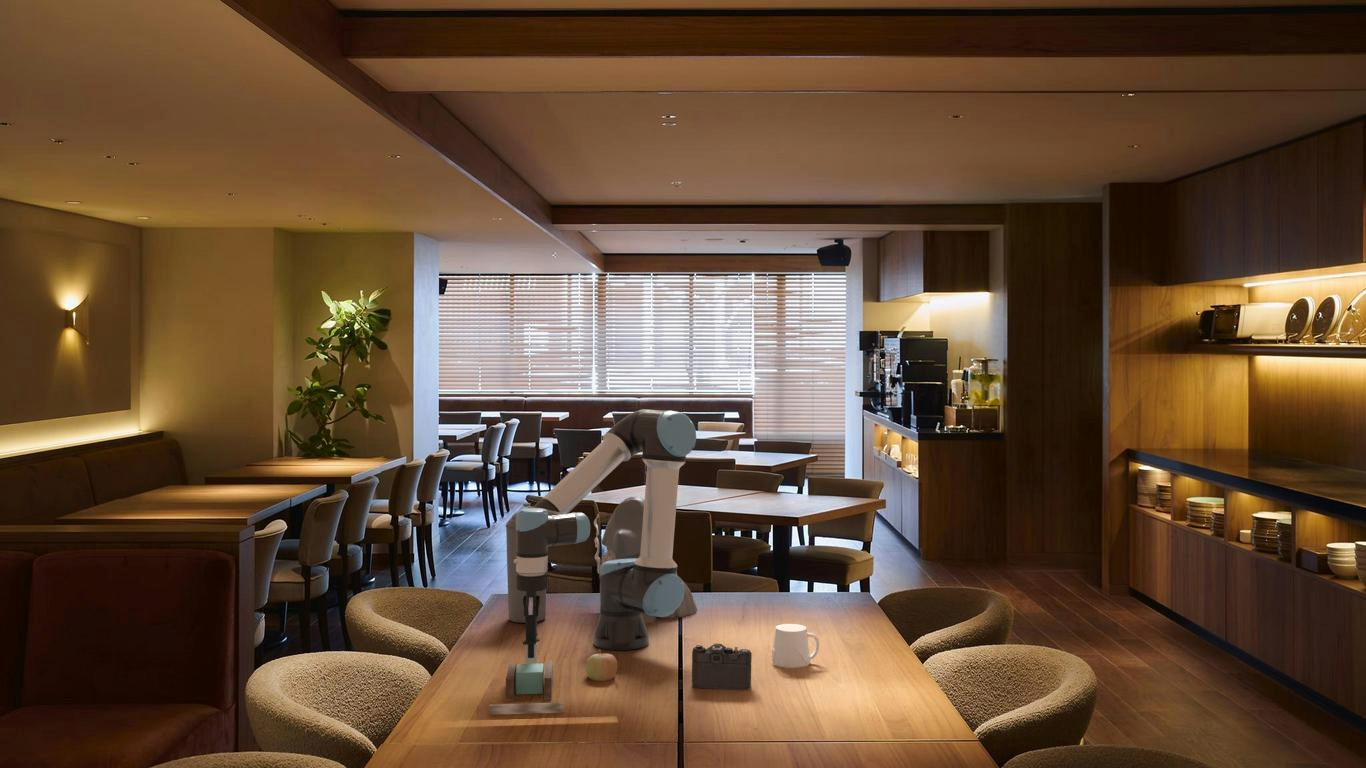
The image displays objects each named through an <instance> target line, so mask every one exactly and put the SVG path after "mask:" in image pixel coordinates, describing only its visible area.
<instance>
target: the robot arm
mask: <svg viewBox="0 0 1366 768" xmlns="http://www.w3.org/2000/svg"><path fill="white" fill-rule="evenodd" d="M694 424H695V423H694V422H693V421H692V420H691V419H690V417H689V416H688V415H686V414H685V413H683V412H679V411H675V410H671V409H670V410H661V409H645V408H643V409H639V410H636V411H634V412H631V413H630V414H628V415H626V416H625V417H624V418H622V419H621V420H620V421H618V422H617V423H615V425H613V426H612V427H610V429H609V430H607V432H605V434H603V436H602V441H601V442H600V443H599V444H598V445H597V446H596V447H595V448H594V449H593V450H591V452H590V453H589V454H588V455H586V457H584V459H583V460H582V461H580V462H579V463H578V464H577V465H575V467H574V468H573V469H572V470H570V471H569V473H567V475H566V476H564V477H563V478H562V479H561V480H560V481H559V482H558V483H557V484H556V485H555V486H554V487H553V488H552V489H551V490H550V491H548V492H547V493H546V494H545V495H544V496H543V497H542V498H541V499H540V500H538V502H537V503H536V504H535V505H533V506H532V505H530V506H528V507H525V506H523V507H521V508H520V510H518V511H517V512H518V513H517V512H516V513H517V516H516V555H517V556H516V558H517V559H515V560H514V563H517V565H516V571H517V572H518V574H517V575H516V589H517V590H519V591H525V592H527V593H526V596H524V598H523V605H524V616H525V617H526V623H525V640H524V641H522V645H525V646H524V647H525V648H524V649H525V652H524V653H525V654H524V655H525V656H524V657H525V660H524V662H525V663H524V664H538V662H537V661H538V657H537V656H538V642H540V640H541V639H540V637H539V638H538V633H537V632H538V630H537V629H538V622H537V616H538V613H539V603H540V596H537V591H543V590H545V589H546V590H547V588H548V574H546V573H545V572H547V573H548V566H549V565H548V563H549V560H548V559H549V556H548V555H549V554H548V552H549V550H548V549H549V547H555V546H564V545H565V546H566V545H572V544H573V545H576V544H579V543H583V542H586V541H587V540H588V538H589V537H590V533H591V522H590V519H589V517H588V516H587V515H586V514H585V513H583V512H571V511H572V510H573V509H574V508H575V507H576V506H578V504H579V503H580V502H581V501H582V500H583V499H584V498H586V497H587V496H588V494H590V493H591V492H592V491H593V490H594V489H595V488H596V487H597V486H598V485H599V484H601V482H602V481H603V480H604V479H606V477H608V475H609V474H610V473H612V472H613V470H615V469H616V468H617V467H619V465H620V464H621V463H622V462H628V461H629V460H630V459H632V457H634V456H635V455H637V454H639V453H642V455H641V456H642V457H641V460H642V461H643V463H644V464H645V465H646V477H645V489H644V500H645V501H644V513H643V526H642V539H641V551H640V557H639V558H638V559H636V558H632V559H618V560H611V561H606V562H604V563H601V564H600V566H601V568H600V574H599V575H598V577H599V618H598V622H597V624H596V627H595V630H594V634H593V645H594V647H597V648H599V649H604V650H608V651H631V650H637V649H641V648H645V647H646V646H648V645H649V642H650V640H649V636H650V635H649V632H648V629H647V625H646V624H645V622H644V619H643V615H642V613H645V614H647V615H650V616H657V618H660V617H666V616H668V615H671V614H672V613H673V612H675V610H676V609H677V608H678V607H679V606H680V604H681V602H682V600H683V597H684V584H683V582H682V580H683V579H682V578H681V577H680V576H678V564H677V563H676V561H675V560H674V559H673V553H674V541H675V540H674V539H675V528H676V515H677V514H676V512H677V502H678V489H679V474H680V468H681V467H683V466H684V465H685V464H686V461H687V460H686V459H687V455H689V454H690V453H691V452H692V450H693V449H695V446H696V442H697V431H696V427H695V425H694ZM570 512H571V513H570ZM681 579H682V580H681Z"/></svg>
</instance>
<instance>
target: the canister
mask: <svg viewBox="0 0 1366 768" xmlns="http://www.w3.org/2000/svg"><path fill="white" fill-rule="evenodd" d="M531 504H532V503H530V502H524V503H522V506H523V507H528V506H532V505H531ZM517 513H518V511H517V512H515V513H513V515H512V516H511V518H509V519H508V521H507V522H506V524H505V529H506V532H505V534H506V536H505V537H506V538H505V539H506V571H507V573H506V574H507V575H506V576H507V603H508V605H507V608H508V620H509V621H511V622H513V623H518V624H526V617H525V616H524V605H523V598H524V596H526V593H527V592H525V591H519V590H517V589H516V575H517V574H518V572H517V571H516V565H517V563H514V560H515V559H517V558H516V556H517V555H516V516H517ZM545 573H546V574H547V573H548V571H547V572H545ZM547 575H548V574H547ZM537 596H540V603H539V613H538V616H537V623H538V622H541V621H544V620H545V619H546V613H547V611H546V609H547V607H546V606H547V588H546V589H545V590H543V591H537Z"/></svg>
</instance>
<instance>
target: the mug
mask: <svg viewBox="0 0 1366 768" xmlns="http://www.w3.org/2000/svg"><path fill="white" fill-rule="evenodd" d="M808 637H810V638H813V639H814V641H815V646H814V650H813V652H812V653H811V654H810V647H809V646H810V645H809V639H808ZM773 639H774V640H773V645H772V646H773V648H772V649H771V661H772V666H775V667H779V668H789V669H790V668H791V669H795V668H797V669H798V668H805V667H808V666H810V664H811V660H813V659H814V658H816V657H817V655H818V653H819V650H820V640H819V638H818V636H817V635H816V634H815V633H812V632H808V629H807V627H806V626H805V625H802V624H799V623H798V624H796V623H782V624H778V625H776V626H775V630H774V637H773Z"/></svg>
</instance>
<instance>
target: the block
mask: <svg viewBox="0 0 1366 768" xmlns="http://www.w3.org/2000/svg"><path fill="white" fill-rule="evenodd" d="M544 666H545V665H544V663H543V662H541V663H537V664H525V663H517V672H516V688H515V694H516V695H535V694H536V695H537V694H538V695H539V694H543V695H544V676H545V667H544Z"/></svg>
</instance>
